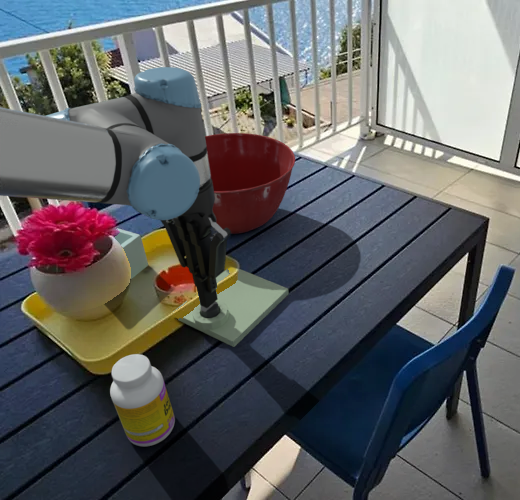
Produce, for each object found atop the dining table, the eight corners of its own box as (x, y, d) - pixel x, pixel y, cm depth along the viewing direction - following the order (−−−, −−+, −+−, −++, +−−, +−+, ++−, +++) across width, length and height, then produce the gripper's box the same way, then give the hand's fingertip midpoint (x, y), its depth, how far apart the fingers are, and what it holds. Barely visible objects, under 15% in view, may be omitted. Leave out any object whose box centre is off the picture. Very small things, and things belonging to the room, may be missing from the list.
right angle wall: (103, 251, 106) (93, 221, 101) (148, 265, 102) (140, 234, 98) (56, 284, 97) (43, 253, 92) (104, 301, 93) (93, 269, 89)
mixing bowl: (322, 213, 120) (321, 154, 111) (233, 271, 101) (223, 205, 92) (240, 178, 133) (234, 123, 124) (148, 223, 115) (132, 162, 106)
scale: (232, 349, 84) (230, 336, 82) (171, 319, 90) (168, 307, 88) (288, 294, 96) (287, 282, 94) (232, 270, 101) (230, 259, 99)
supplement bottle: (179, 438, 70) (161, 378, 63) (129, 455, 68) (104, 395, 60) (172, 402, 75) (154, 342, 68) (125, 417, 73) (101, 357, 65)
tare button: (211, 320, 86) (209, 314, 85) (198, 314, 87) (196, 308, 86) (222, 310, 88) (221, 304, 87) (210, 304, 89) (208, 298, 88)
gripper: (237, 181, 72) (252, 302, 86) (171, 160, 77) (196, 278, 91) (200, 204, 67) (223, 329, 81) (133, 179, 72) (165, 301, 86)
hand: (209, 302), depth 86 cm, fingers closed
